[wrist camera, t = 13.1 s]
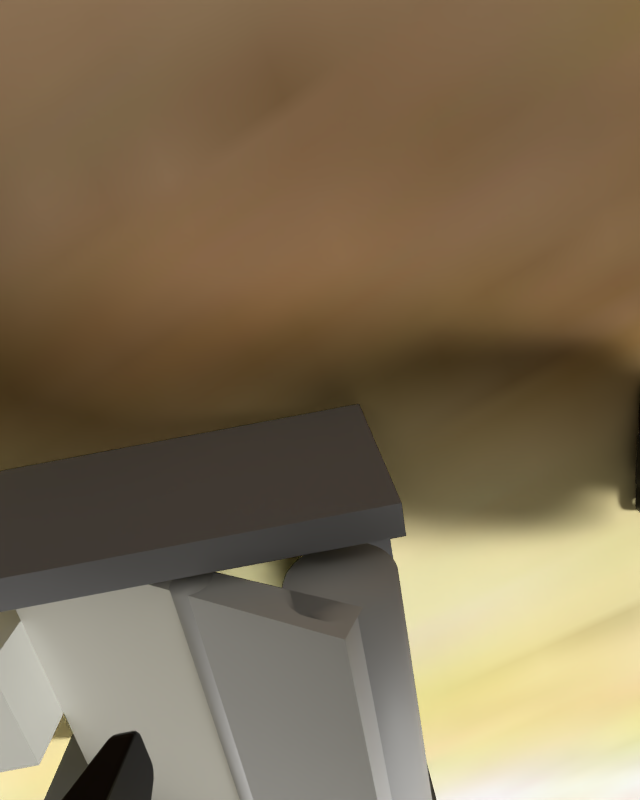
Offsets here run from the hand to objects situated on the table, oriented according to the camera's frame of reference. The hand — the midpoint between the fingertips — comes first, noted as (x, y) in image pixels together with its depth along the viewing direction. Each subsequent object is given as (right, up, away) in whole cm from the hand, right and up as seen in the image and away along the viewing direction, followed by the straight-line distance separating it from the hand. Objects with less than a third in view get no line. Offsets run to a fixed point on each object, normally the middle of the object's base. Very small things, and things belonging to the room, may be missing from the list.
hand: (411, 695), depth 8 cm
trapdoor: (-5, -5, +11) cm, 13 cm away
